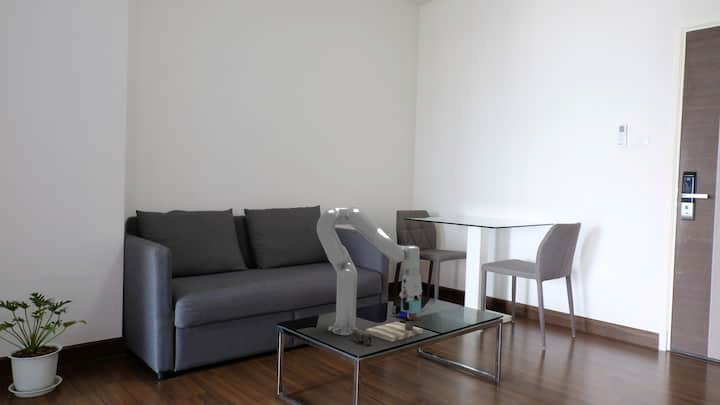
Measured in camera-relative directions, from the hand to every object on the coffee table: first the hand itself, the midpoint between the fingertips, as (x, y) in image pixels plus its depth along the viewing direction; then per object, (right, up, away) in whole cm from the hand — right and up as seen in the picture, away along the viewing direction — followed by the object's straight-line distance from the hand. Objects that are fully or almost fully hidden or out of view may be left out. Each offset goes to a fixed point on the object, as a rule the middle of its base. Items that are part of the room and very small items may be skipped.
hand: (410, 308), depth 245 cm
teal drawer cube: (0, -1, 0) cm, 1 cm away
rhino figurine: (-24, -12, -16) cm, 31 cm away
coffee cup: (+6, -11, +50) cm, 51 cm away
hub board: (-8, -12, 0) cm, 14 cm away
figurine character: (0, -12, +30) cm, 32 cm away
